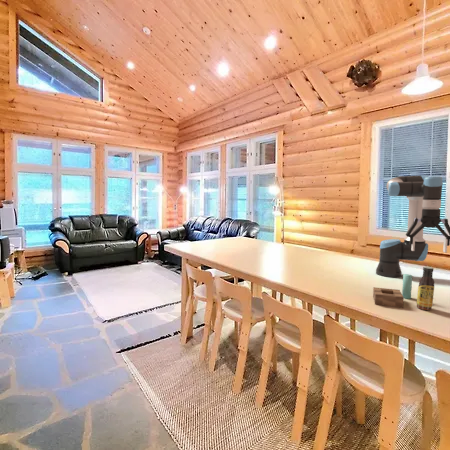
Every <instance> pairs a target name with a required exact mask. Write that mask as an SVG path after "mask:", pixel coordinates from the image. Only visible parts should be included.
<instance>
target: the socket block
mask: <svg viewBox="0 0 450 450" xmlns="http://www.w3.org/2000/svg"><path fill="white" fill-rule="evenodd" d="M372 289H373V291H372V299H373V302H374V305H377V306H378V305H379V306H387V307H396V308H404V299H405V298H404V297H403V296H402V292H401V290H400V289H395V288H394V289H393V288H385V287H384V288H383V287H373V288H372Z"/></svg>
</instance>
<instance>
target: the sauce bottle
mask: <svg viewBox="0 0 450 450" xmlns="http://www.w3.org/2000/svg"><path fill="white" fill-rule="evenodd" d="M422 271H423V272H422V276H421V277H420V279H419V281H418V287H417V288H418V289H417V297H416V307H417V308H418V309H420V310H422V311H431V310H432V307H433V302H434V293H435V280H434V279H433V273H434V267H432V266H423V267H422Z"/></svg>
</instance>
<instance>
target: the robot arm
mask: <svg viewBox="0 0 450 450" xmlns="http://www.w3.org/2000/svg"><path fill="white" fill-rule="evenodd" d="M443 184H444V183H443V177H441V176H428V175H401V176H396V177H393V178H391V179H389V180H387V183H386V190H387V195H388V196H389V197H406V198H407V199H408V213H407V215H408V216H407V231H406V233H405V236H406V237H405V238H404V239H403V241H401V240H400V239H399V238H397V239H395V238H392V239H391V238H390V239H384V240H381V241H380V245H379V259H378V264H377V267H376V268H375V274H376V275H379V276H382V277H386V278H387V277H388V278H400V277H403V274H402V273H403V272H402V269H401V265H400V260H402V261H413V262H414V261H415V262H424V261H426V259H427V257H428V252H429V244H428V243H427V242H426V239H425V238H424V228H433V229H435V228H436V229H437V231H439V232H440V233H441V234H442V236H444V238H443V246H442V247H443V248H442V252H443V253H446V254H447V253H448V247H449V246H450V225H449V219H448V218H441V211H442V210H441V207H442V195H443V193H442V192H443ZM440 223H442V224H443V225H444V227H445V229H446V231H447V232H446V231H445V230H444V229H443V228H442V227H441V225H440Z"/></svg>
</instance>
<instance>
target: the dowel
mask: <svg viewBox="0 0 450 450" xmlns="http://www.w3.org/2000/svg"><path fill="white" fill-rule="evenodd" d="M402 277H403V278H402V292H401V294H402V296H403V297H404V298H403V299H406V300H411V299H412V288H413V287H412V285H413V275H412V274H406V273H405V274H402Z"/></svg>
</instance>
